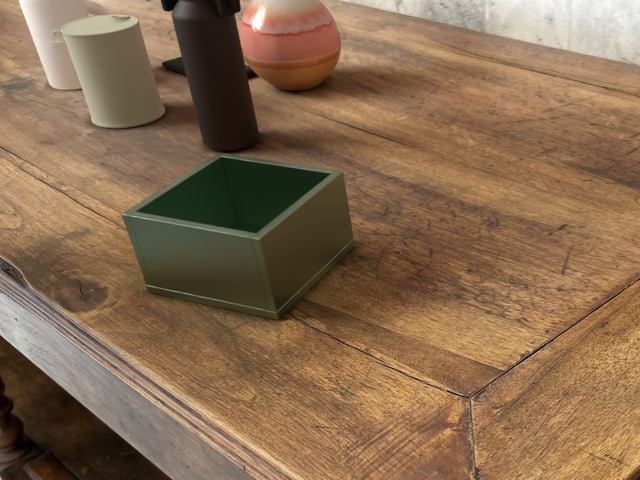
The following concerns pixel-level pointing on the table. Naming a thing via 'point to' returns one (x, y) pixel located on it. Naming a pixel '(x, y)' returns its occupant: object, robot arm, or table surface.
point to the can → (114, 70)
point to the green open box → (242, 233)
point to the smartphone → (179, 67)
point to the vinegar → (216, 75)
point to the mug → (57, 35)
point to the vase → (290, 42)
